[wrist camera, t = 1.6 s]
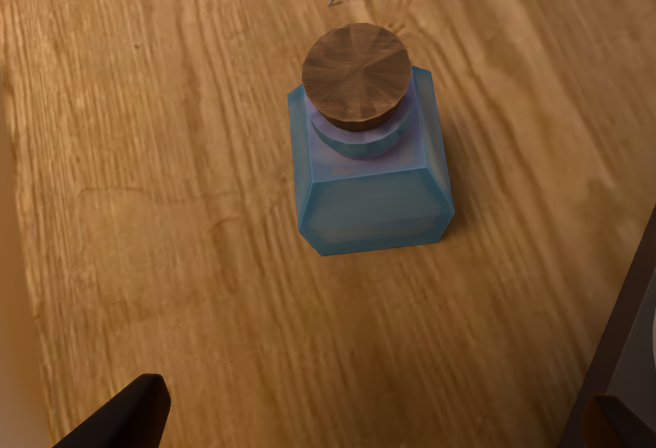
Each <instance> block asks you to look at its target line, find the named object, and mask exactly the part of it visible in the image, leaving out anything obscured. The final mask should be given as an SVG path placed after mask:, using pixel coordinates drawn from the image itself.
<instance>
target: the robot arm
mask: <svg viewBox="0 0 656 448" xmlns="http://www.w3.org/2000/svg"><path fill="white" fill-rule="evenodd" d="M170 407H171V398H170V395H169V392H168V389H167V387H166V384H165V381H164V379H163V377H162V376H161V375H160V374H149V373H146V374H142V375H140V376H139V377H137V378H136V379H135V380H134V381H133V382H131V383H130V384H129V385H128V386H126V387H125V388H124V389H123V390H122V391H120V392H119V393H118V394H117V395H116V396H114V397H113V398H112V399H111V400H109V401H108V402H107V403H106V404H105V405H103V406H102V407H101V408H100V409H98V410H97V411H96V412H95V413H94V414H92V415H91V416H90V417H89V418H88V419H86V420H85V421H84V422H83V423H81V424H80V425H79V426H78V427H77V428H75V429H74V430H73V431H72V432H70V433H69V434H68V435H67V436H66V437H64V438H63V439H62V440H61V441H60V442H58V443H57V444H56V445H55V446H53V447H52V448H159V445H160V441H161V438H162V434H163V431H164V428H165V424H166V421H167V418H168V414H169V411H170ZM582 432H583V436H584V440H585V444H586V447H587V448H656V431H654V430H653V429H652V428H651V427H650V426H649V425H648V424H647V423H646V422H645V421H643V420H642V419H641V418H640V417H639V416H638V415H637V414H636V413H635V412H634V411H632V410H631V409H630V408H629V407H628V406H627V405H626V404H625V403H624V402H623V401H621V400H620V399H619V398H618V397H616V396H614V395H611V394H592V395H591V396H590V398H589V400H588V403H587V406H586V409H585V412H584V415H583V418H582Z"/></svg>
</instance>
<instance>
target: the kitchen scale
mask: <svg viewBox="0 0 656 448" xmlns="http://www.w3.org/2000/svg"><path fill="white" fill-rule="evenodd" d="M592 394H611V395H614V396H616V397H618V398H619V399H620V400H621V401H623V402H624V403H625V404H626V405H627V406H628V407H629V408H630V409H631V410H632V411H634V412H635V413H636V414H637V415H638V416H639V417H640V418H641V419H642V420H643V421H645V422H646V423H647V424H648V425H649V426H650V427H651V428H652V429H653V430H654V431H656V205H655V208H654V210H653V213H652V215H651V218H650V220H649V223H648V225H647V228H646V230H645V233H644V235H643V237H642V240H641V242H640V245H639V247H638V250H637V252H636V255H635V257H634V260H633V262H632V265H631V267H630V269H629V272H628V274H627V277H626V279H625V282H624V284H623V287H622V289H621V292H620V294H619V297H618V299H617V301H616V304H615V306H614V309H613V311H612V314H611V316H610V319H609V321H608V324H607V326H606V329H605V331H604V334H603V336H602V338H601V341H600V343H599V346H598V348H597V351H596V353H595V356H594V358H593V361H592V363H591V366H590V368H589V370H588V373H587V375H586V378H585V380H584V383H583V385H582V388H581V390H580V393H579V395H578V398H577V400H576V402H575V405H574V407H573V410H572V412H571V415H570V417H569V420H568V422H567V425H566V427H565V430H564V432H563V434H562V437H561V439H560V442H559V444H558V447H557V448H587V447H586V444H585V440H584V436H583V432H582V418H583V415H584V412H585V409H586V406H587V403H588V400H589V398H590V396H591V395H592Z"/></svg>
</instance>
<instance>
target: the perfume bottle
mask: <svg viewBox="0 0 656 448" xmlns="http://www.w3.org/2000/svg"><path fill="white" fill-rule="evenodd" d="M288 106H289V118H290V131H291V143H292V156H293V168H294V181H295V193H296V205H297V218H298V230H299V233H300V234H301V235H302V236H303V237H304V238H305V239H306V240H307V241H308V242H309V243H310V245H311V246H312V247H313V248H314V249H315V250H316V251H317V252H318V253H319V254H320V255H321V256H327V255H336V254H344V253H353V252H362V251H370V250H379V249H387V248H396V247H404V246H413V245H421V244H430V243H438V242H439V240H440V238H441V236H442V235H443V233H444V231H445V229H446V228H447V226H448V224H449V222H450V220H451V219H452V217H453V215H454V213H455V210H454V204H453V198H452V193H451V187H450V181H449V175H448V169H447V163H446V157H445V151H444V146H443V140H442V134H441V128H440V122H439V116H438V110H437V104H436V99H435V93H434V87H433V81H432V75H431V72H430V71H427V70H424V69H421V68H418V67H415V66H412V62H411V59H410V56H409V53H408V50H407V47H406V46H405V45H404V44H403V43H402V41H401V40H400V39H399V38H398V37H397V35H395V34H394V33H392V32H390V31H389V30H387V29H385V28H384V27H381V26H377V25H373V24H369V23H353V24H347V25H344V26H341V27H338V28H335V29H333V30H331V31H330V32H328V33H326V34H325V35H323V36H322V37H320V38H319V39H318V41H317V42H316V43H315V44H314V45H313V46H312V47H311V49H310V50H309V52H308V54H307V56H306V59H305V61H304V63H303V70H302V84H301V85H300V86H298V87H297V88H296V89H294V90H293V91H291V92H290V93H289V94H288Z"/></svg>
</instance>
